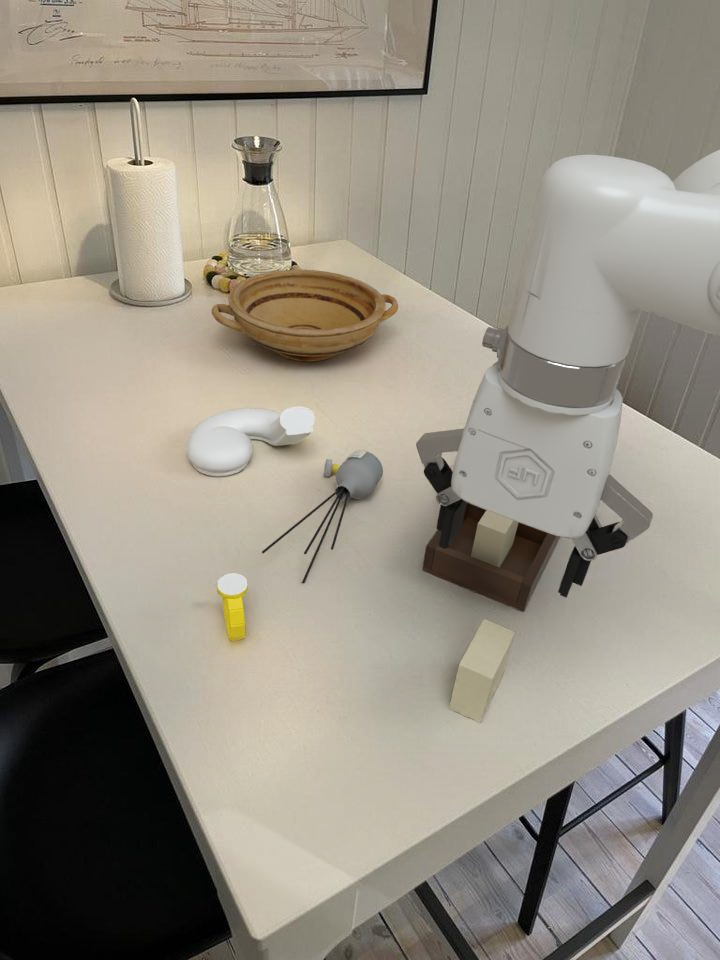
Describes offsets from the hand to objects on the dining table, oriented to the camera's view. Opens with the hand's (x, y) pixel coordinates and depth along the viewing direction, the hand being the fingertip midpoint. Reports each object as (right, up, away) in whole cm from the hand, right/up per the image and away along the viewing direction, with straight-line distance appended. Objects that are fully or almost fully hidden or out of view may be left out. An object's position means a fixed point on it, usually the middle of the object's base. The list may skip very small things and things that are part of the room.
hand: (506, 561), depth 58 cm
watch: (-24, -8, +14) cm, 28 cm away
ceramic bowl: (-20, +28, +62) cm, 71 cm away
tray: (+8, +3, +32) cm, 33 cm away
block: (+3, -2, +24) cm, 24 cm away
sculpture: (-26, +10, +37) cm, 47 cm away
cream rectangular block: (-1, -13, +9) cm, 16 cm away
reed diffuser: (-15, +1, +27) cm, 31 cm away
